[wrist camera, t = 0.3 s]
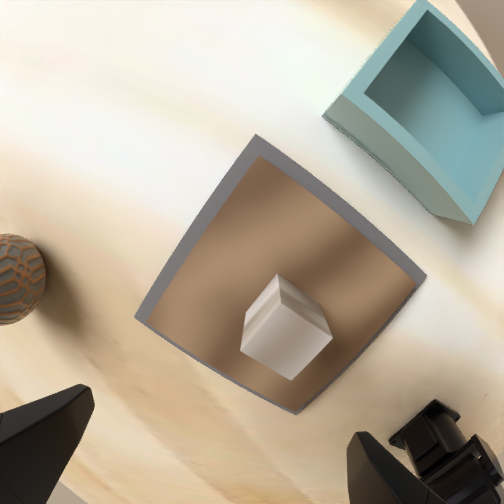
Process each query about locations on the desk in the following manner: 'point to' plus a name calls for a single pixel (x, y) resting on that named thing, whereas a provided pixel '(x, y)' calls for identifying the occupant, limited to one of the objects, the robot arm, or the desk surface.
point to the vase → (19, 278)
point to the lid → (279, 290)
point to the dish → (429, 113)
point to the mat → (313, 186)
